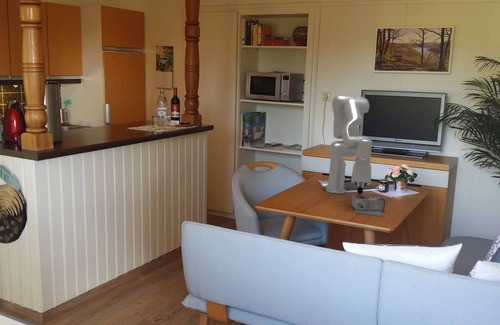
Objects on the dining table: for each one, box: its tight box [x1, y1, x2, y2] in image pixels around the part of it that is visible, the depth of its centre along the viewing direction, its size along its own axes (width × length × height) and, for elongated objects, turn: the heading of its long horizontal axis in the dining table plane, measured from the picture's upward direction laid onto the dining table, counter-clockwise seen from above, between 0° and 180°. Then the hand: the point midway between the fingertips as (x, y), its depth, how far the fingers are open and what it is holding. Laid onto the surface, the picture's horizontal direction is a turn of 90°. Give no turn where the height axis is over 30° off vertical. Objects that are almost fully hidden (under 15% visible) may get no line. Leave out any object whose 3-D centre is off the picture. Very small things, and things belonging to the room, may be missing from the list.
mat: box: [353, 208, 383, 217], centre depth 284 cm, size 14×14×1 cm
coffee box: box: [351, 194, 386, 212], centre depth 288 cm, size 9×6×16 cm
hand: (359, 194), depth 284 cm, fingers closed
